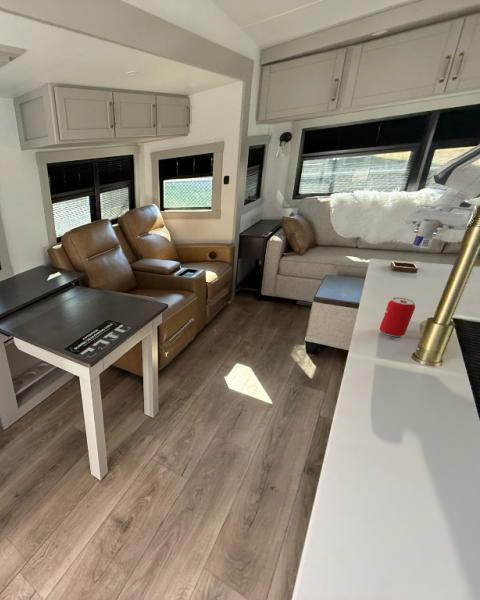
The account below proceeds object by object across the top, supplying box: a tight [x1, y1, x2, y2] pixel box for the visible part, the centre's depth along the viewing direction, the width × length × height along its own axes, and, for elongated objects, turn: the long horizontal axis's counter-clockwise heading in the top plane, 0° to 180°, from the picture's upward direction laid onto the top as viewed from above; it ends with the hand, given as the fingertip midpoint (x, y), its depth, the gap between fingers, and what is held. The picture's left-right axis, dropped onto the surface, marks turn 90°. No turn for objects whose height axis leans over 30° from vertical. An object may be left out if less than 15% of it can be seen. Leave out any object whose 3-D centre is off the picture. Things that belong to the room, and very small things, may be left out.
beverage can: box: [379, 296, 416, 338], centre depth 103 cm, size 6×6×12 cm
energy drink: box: [412, 219, 439, 250], centre depth 137 cm, size 5×5×12 cm
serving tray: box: [390, 261, 419, 274], centre depth 152 cm, size 8×8×2 cm
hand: (425, 233), depth 137 cm, fingers closed on energy drink, 5 cm apart
